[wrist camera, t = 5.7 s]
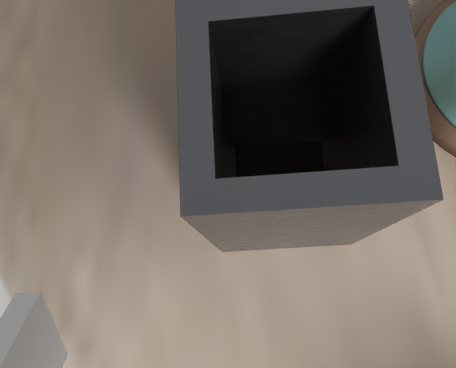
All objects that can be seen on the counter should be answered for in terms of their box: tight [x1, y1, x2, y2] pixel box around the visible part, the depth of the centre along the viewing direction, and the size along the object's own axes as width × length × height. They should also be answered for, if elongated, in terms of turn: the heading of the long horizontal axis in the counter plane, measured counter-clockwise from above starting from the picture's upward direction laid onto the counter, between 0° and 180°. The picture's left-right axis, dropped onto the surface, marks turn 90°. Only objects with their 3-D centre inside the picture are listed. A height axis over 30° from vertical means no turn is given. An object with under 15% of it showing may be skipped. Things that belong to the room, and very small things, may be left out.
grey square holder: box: [175, 0, 443, 252], centre depth 18 cm, size 7×7×12 cm
